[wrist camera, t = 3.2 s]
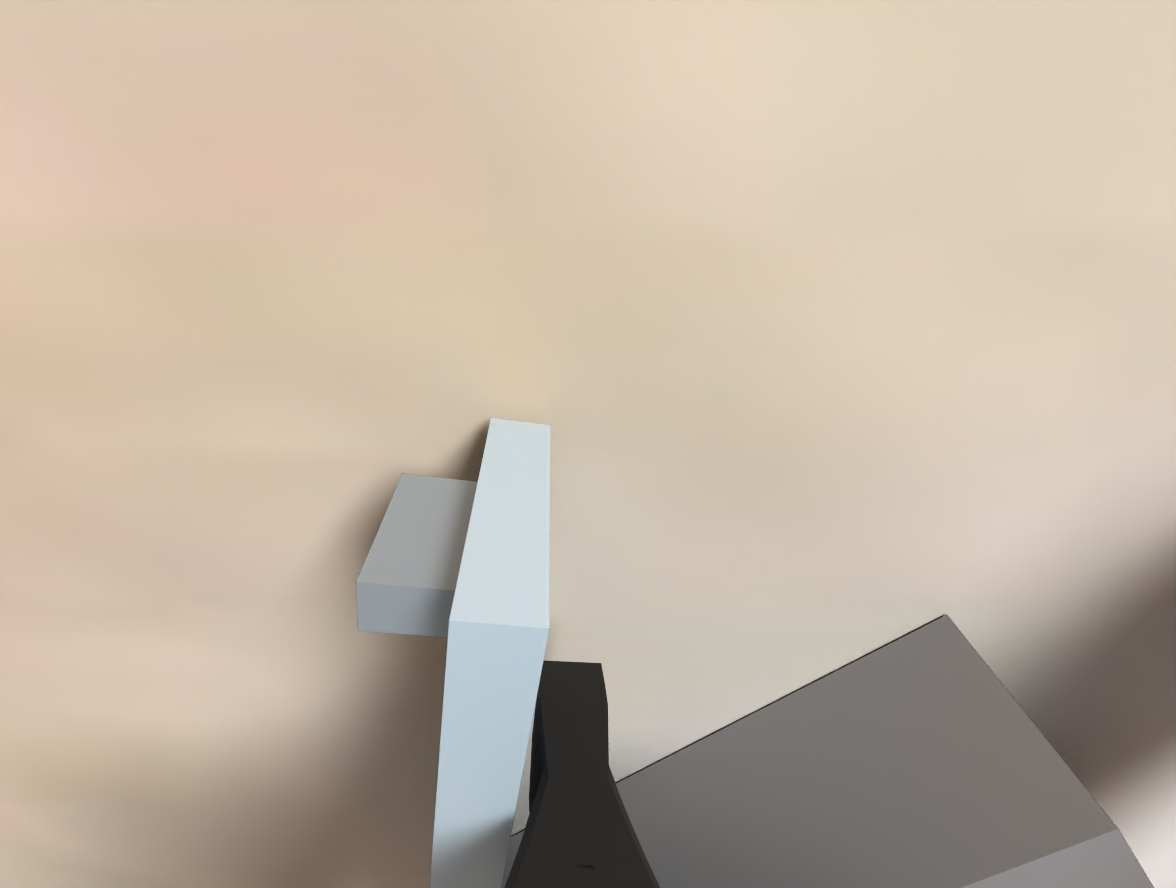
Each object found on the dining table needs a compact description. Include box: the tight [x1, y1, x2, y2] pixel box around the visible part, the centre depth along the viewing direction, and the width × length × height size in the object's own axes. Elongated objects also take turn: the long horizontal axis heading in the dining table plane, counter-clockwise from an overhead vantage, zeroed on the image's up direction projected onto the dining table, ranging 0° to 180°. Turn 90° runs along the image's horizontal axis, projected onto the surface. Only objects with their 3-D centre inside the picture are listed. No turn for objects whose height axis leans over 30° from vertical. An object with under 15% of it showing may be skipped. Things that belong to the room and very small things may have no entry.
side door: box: [356, 418, 551, 888], centre depth 11 cm, size 14×2×4 cm, turn 171°
